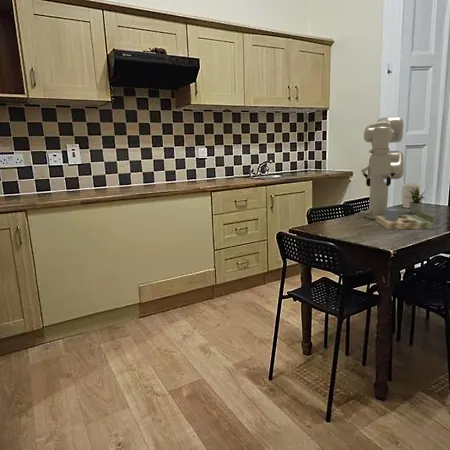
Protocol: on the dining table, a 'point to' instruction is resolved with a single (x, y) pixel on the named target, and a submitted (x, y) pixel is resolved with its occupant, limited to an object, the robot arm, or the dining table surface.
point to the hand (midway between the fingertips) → (378, 186)
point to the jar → (408, 194)
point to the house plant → (415, 200)
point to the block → (391, 214)
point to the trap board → (408, 221)
